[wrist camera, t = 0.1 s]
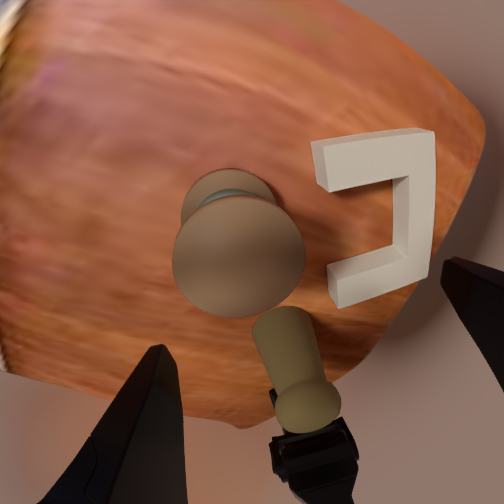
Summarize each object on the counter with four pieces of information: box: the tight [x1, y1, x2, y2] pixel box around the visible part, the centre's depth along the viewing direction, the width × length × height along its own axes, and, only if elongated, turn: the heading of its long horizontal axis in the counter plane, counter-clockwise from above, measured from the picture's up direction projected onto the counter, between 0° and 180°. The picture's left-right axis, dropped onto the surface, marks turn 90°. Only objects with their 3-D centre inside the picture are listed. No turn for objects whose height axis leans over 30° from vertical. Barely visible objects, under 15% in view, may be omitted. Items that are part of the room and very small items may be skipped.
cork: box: [252, 306, 341, 433], centre depth 23 cm, size 6×6×11 cm
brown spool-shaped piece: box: [172, 168, 306, 318], centre depth 18 cm, size 7×7×8 cm
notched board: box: [310, 127, 436, 309], centre depth 22 cm, size 14×10×2 cm
